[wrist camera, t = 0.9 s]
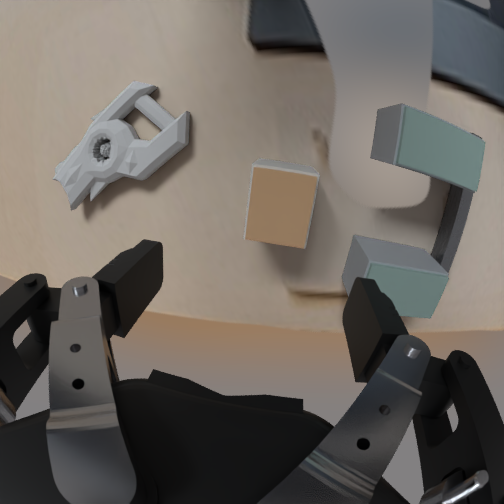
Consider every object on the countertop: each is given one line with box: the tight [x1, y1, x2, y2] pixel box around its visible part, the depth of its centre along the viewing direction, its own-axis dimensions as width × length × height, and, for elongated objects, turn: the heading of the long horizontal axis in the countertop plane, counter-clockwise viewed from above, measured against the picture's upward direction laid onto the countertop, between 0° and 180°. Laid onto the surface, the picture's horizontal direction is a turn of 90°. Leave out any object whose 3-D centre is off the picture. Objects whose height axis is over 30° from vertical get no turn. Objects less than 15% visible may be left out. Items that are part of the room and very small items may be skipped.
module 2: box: [370, 104, 485, 193], centre depth 19 cm, size 5×9×6 cm, turn 83°
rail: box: [431, 133, 482, 273], centre depth 23 cm, size 20×3×2 cm, turn 173°
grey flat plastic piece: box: [53, 81, 190, 211], centre depth 25 cm, size 18×3×10 cm
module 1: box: [243, 158, 320, 249], centre depth 23 cm, size 6×5×6 cm
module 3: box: [342, 235, 449, 318], centre depth 24 cm, size 5×9×6 cm, turn 83°
